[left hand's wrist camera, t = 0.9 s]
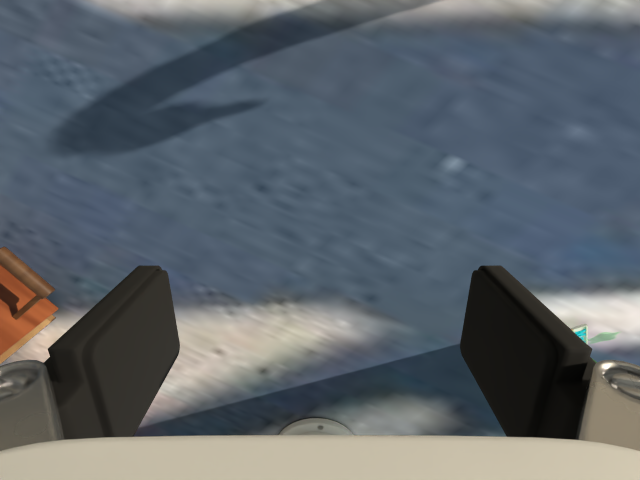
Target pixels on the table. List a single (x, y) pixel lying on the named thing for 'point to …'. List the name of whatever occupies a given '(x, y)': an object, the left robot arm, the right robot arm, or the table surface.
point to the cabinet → (26, 339)
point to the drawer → (21, 300)
